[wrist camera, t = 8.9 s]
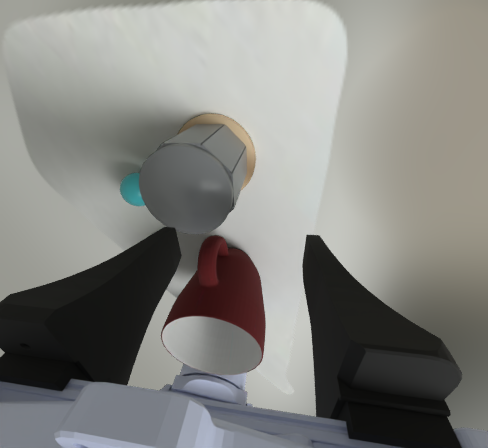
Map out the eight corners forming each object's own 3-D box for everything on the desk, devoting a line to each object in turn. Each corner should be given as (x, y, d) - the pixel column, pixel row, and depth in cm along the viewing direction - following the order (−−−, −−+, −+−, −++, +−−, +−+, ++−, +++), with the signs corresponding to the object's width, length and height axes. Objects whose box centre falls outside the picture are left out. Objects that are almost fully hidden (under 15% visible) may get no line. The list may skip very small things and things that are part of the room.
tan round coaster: (255, 196, 21) (255, 198, 21) (183, 194, 22) (181, 196, 22) (255, 113, 18) (254, 113, 17) (168, 114, 18) (166, 115, 18)
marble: (164, 197, 23) (150, 212, 20) (136, 196, 23) (119, 211, 21) (157, 168, 21) (141, 180, 19) (127, 167, 22) (107, 179, 19)
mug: (178, 218, 24) (123, 295, 16) (253, 204, 22) (236, 284, 14) (213, 289, 29) (185, 375, 21) (276, 283, 27) (273, 376, 19)
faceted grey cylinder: (247, 191, 21) (233, 236, 15) (187, 189, 21) (151, 231, 16) (245, 123, 18) (228, 147, 12) (176, 124, 18) (126, 146, 13)
